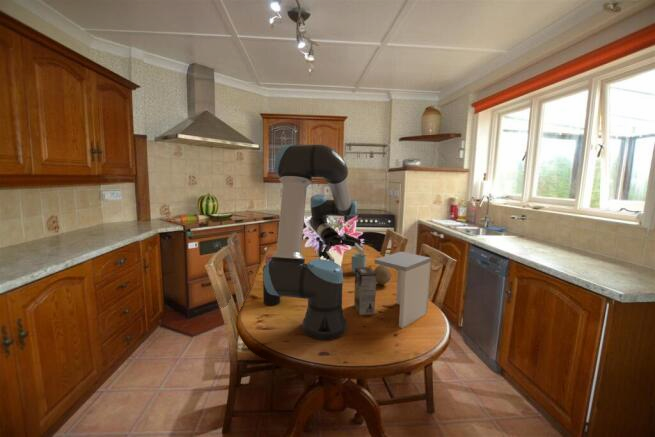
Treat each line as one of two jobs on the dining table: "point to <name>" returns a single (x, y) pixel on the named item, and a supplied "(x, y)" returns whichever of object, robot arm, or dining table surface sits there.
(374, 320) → the dining table surface
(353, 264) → the cup
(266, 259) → the bottle
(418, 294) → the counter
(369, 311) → the coffee box
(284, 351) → the dining table surface
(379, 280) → the natural sponge
